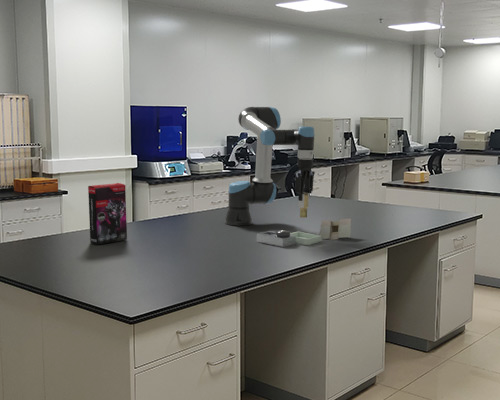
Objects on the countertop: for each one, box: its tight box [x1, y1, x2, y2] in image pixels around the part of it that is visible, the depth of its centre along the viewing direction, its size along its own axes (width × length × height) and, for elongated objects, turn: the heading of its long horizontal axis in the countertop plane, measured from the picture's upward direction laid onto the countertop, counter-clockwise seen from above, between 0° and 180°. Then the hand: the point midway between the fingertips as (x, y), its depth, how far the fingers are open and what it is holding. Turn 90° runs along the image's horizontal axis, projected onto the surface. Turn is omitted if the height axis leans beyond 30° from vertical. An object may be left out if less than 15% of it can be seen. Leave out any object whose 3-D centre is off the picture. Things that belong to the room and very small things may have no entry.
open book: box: [318, 218, 352, 241], centre depth 311 cm, size 16×9×15 cm
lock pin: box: [299, 191, 308, 219], centre depth 296 cm, size 4×4×12 cm
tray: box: [290, 231, 322, 246], centre depth 299 cm, size 14×12×3 cm
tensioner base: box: [256, 229, 296, 248], centre depth 294 cm, size 16×10×7 cm, turn 49°
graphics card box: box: [87, 182, 128, 246], centre depth 286 cm, size 17×7×27 cm, turn 137°
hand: (303, 206), depth 296 cm, fingers closed on lock pin, 3 cm apart
